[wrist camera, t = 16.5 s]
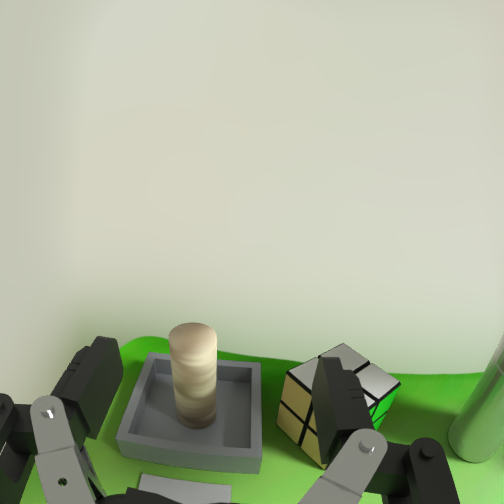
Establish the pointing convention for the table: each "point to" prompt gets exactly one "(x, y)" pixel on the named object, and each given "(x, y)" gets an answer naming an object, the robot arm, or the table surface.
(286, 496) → the table surface
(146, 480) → the rubber mat
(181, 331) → the wooden canister
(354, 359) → the puzzle cube
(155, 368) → the tray
